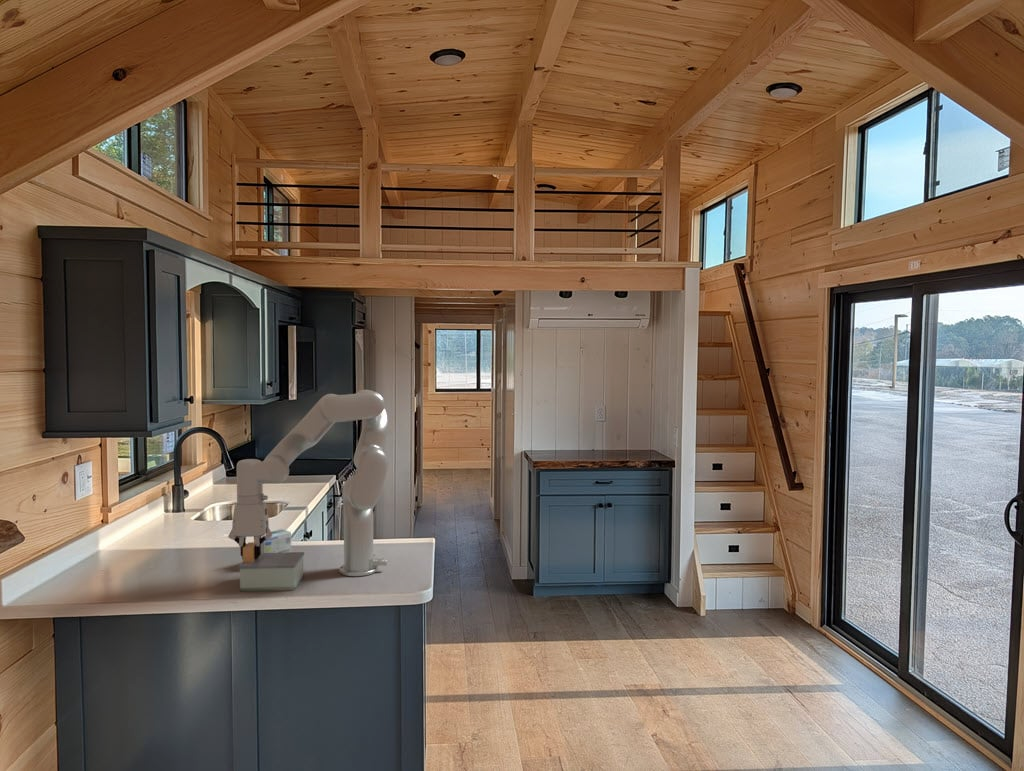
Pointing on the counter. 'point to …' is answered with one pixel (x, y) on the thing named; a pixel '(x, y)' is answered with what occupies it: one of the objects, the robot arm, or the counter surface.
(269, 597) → the counter surface
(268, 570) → the parts tub
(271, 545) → the light bulb box
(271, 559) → the snap lid
